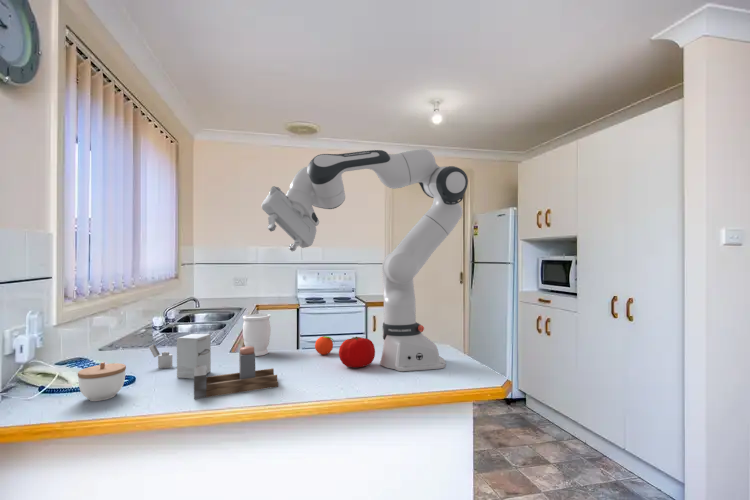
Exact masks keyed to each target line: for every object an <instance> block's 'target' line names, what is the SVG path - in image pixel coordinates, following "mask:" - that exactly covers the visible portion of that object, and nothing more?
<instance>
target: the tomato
mask: <svg viewBox="0 0 750 500" xmlns="http://www.w3.org/2000/svg"><path fill="white" fill-rule="evenodd" d="M365 337H366V336H355V337H354V336H353V337H351V338H347V339H345V340H344V341H343V342H342V343H341V345H340V346H339V349H338V357H339V360H340V361H341V363H342V364H343V365H344V366H346V367H347V368H354V369H355V368H357V369H358V368H364V367H366V366H368V365H371V364H372V363H373V361H374V359H375V357H376V356H375V355H376V348H375V344H374V342H373V341H372V340H371V339H370V338H365Z"/></svg>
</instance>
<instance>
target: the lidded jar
mask: <svg viewBox="0 0 750 500" xmlns="http://www.w3.org/2000/svg"><path fill="white" fill-rule="evenodd" d="M126 366H127V365H126V364H124V363H115V362H114V363H106V362H104V361H103V362H102V361H101V362H100V363H99V364H97V365H92V366H89V367H86V368H83V369H80V370H79V371H78V372H77V377H78V387H79V391H80V393H81V394H82V396H83V397H85V399H88V401H89V400H90V402H100V401H106V400H110V399H113V398H114V397H116V396H117V394H118V393H119V392H120V390H122V388H123V386H124V384H125V380H126V369H127V367H126Z"/></svg>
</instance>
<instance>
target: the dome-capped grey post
mask: <svg viewBox="0 0 750 500" xmlns="http://www.w3.org/2000/svg"><path fill="white" fill-rule="evenodd" d="M238 356H239V360H238V361H239V365H238V367H239V373H240V379H247V378H255V371H256V356H255V353H254V347H252V346H247V347H245V346H242V347H240V348H239V354H238Z"/></svg>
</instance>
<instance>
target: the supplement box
mask: <svg viewBox="0 0 750 500" xmlns="http://www.w3.org/2000/svg"><path fill="white" fill-rule="evenodd" d="M211 340H212V339H211V334H209V333H190V334H186V335H184V336H180V337H177V338H176V378H178V379H179V378H180V379H193V380H194V372H195V367H197V366H206V371H207V374H209V373H211V363H212V359H211V354H212V353H211V350H212V349H211V347H212V346H211Z"/></svg>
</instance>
